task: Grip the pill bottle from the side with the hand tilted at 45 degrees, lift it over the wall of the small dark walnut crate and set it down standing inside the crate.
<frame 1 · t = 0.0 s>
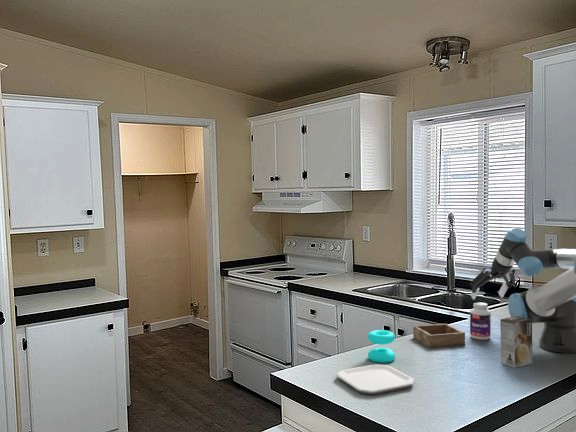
hand: (486, 296, 228), 15 cm above the counter, tool tilted 35°, fingers open, 13 cm apart
crate: (438, 341, 214), on the counter
pill bottle: (480, 338, 218), on the counter
plate: (374, 383, 170), on the counter
donuts: (381, 359, 193), on the counter
coffee box: (516, 364, 186), on the counter
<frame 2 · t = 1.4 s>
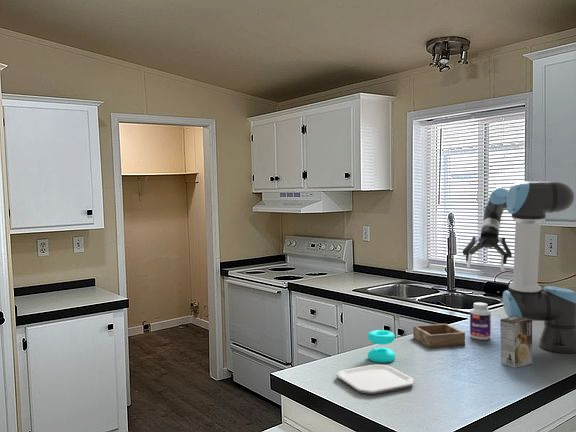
hand: (484, 268, 226), 28 cm above the counter, tool tilted 45°, fingers open, 13 cm apart
nothing on the counter moved.
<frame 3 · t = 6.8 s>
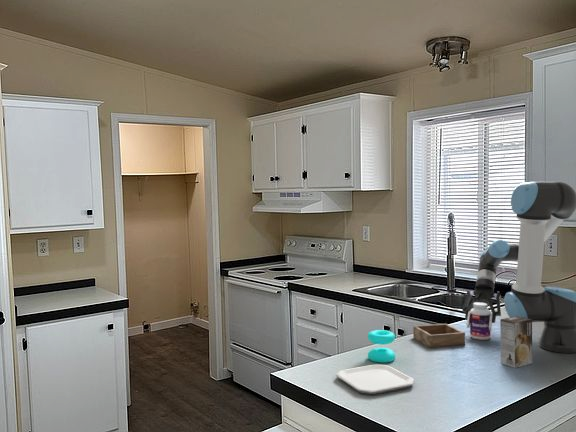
hand: (478, 327, 215), 5 cm above the counter, tool tilted 45°, fingers closed on pill bottle, 8 cm apart
pill bottle: (480, 338, 218), on the counter, touching gripper
everything else where it was.
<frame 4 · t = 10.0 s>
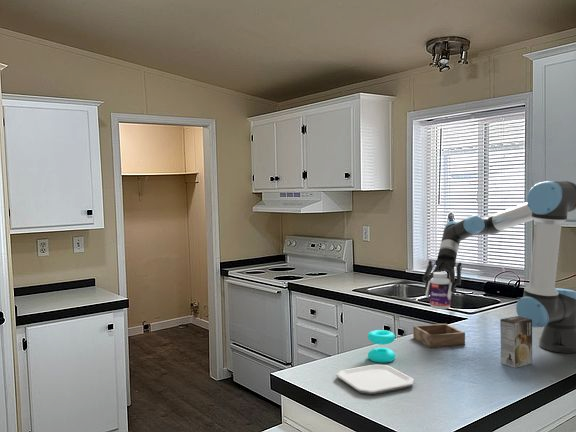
hand: (437, 296, 212), 19 cm above the counter, tool tilted 45°, fingers closed on pill bottle, 8 cm apart
pill bottle: (440, 308, 215), point 13 cm above the counter, touching gripper
everything else where it was.
when the fingers open (8 cm above the counter, at t = 13.1 s): pill bottle drops 1 cm, resting on crate.
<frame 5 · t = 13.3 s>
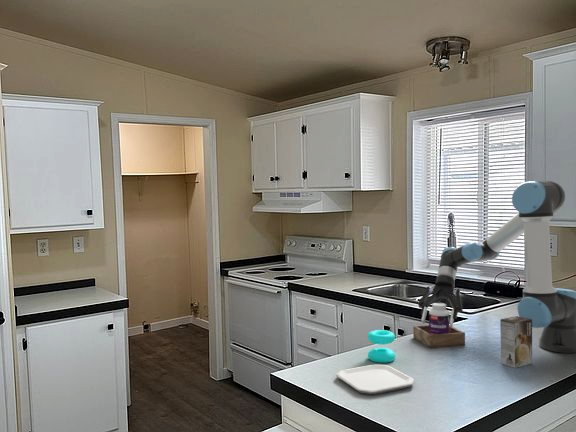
hand: (436, 323, 211), 8 cm above the counter, tool tilted 45°, fingers open, 10 cm apart
pill bottle: (439, 339, 214), point 1 cm above the counter, touching crate
everything else where it was.
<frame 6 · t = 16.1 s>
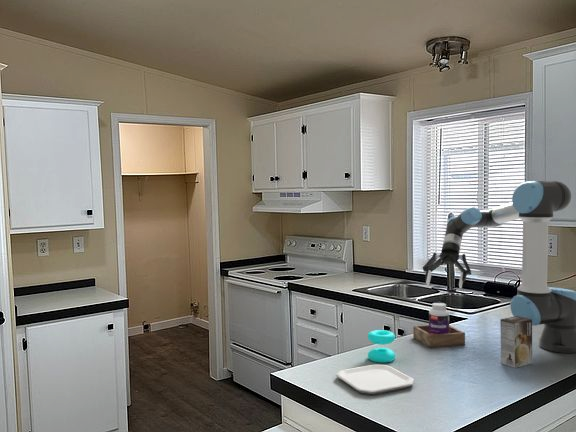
hand: (443, 285, 221), 22 cm above the counter, tool tilted 45°, fingers open, 13 cm apart
nothing on the counter moved.
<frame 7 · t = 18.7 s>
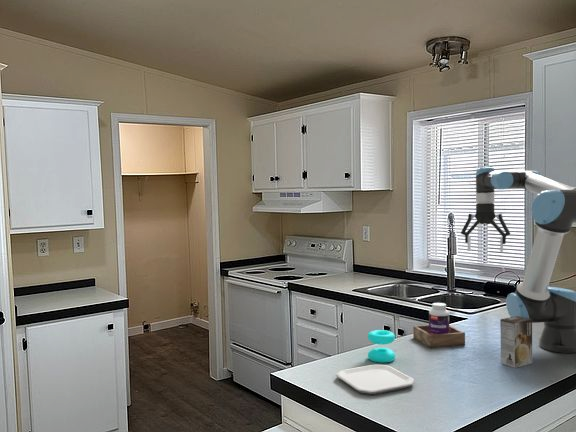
hand: (485, 251, 230), 35 cm above the counter, tool pointing down, fingers open, 13 cm apart
nothing on the counter moved.
at the end: pill bottle inside the target area on the crate (0.2 cm from its centre), point 0.8 cm above the crate's base; pill bottle tilted 0°; the gripper is holding nothing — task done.
